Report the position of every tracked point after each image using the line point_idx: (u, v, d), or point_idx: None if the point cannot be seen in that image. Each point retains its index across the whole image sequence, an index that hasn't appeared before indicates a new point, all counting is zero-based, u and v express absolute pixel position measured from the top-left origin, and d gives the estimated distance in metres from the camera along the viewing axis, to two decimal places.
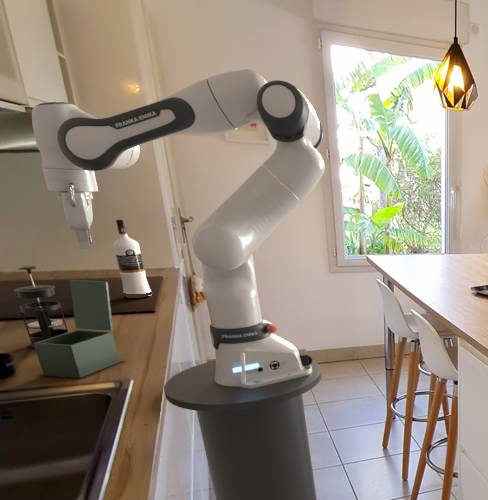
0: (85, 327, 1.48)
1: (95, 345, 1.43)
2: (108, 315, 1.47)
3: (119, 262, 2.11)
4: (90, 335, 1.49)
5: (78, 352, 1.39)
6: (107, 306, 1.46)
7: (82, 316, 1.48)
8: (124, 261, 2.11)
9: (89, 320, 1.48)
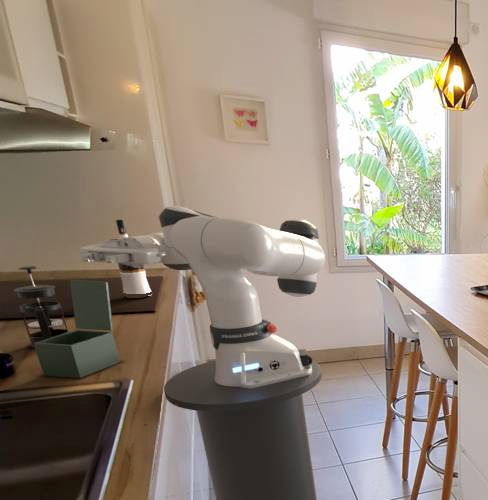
0: (85, 327, 1.48)
1: (95, 345, 1.43)
2: (108, 315, 1.47)
3: None
4: (90, 335, 1.49)
5: (78, 352, 1.39)
6: (107, 306, 1.46)
7: (82, 316, 1.48)
8: None
9: (89, 320, 1.48)
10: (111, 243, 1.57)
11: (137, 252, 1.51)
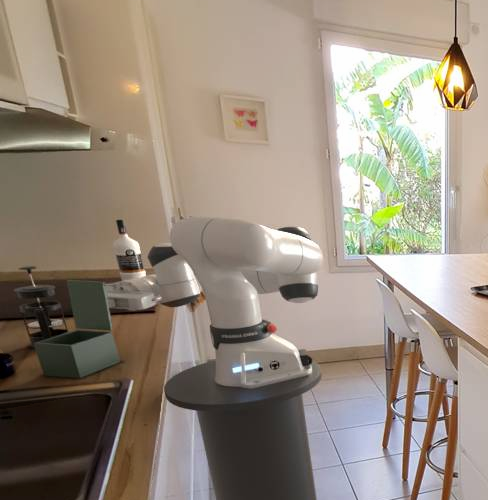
0: (85, 327, 1.48)
1: (95, 345, 1.43)
2: (107, 315, 1.47)
3: (119, 262, 2.11)
4: (90, 335, 1.49)
5: (78, 352, 1.39)
6: (105, 306, 1.46)
7: (81, 316, 1.48)
8: (124, 261, 2.11)
9: (88, 320, 1.48)
10: (106, 287, 1.57)
11: (132, 298, 1.50)
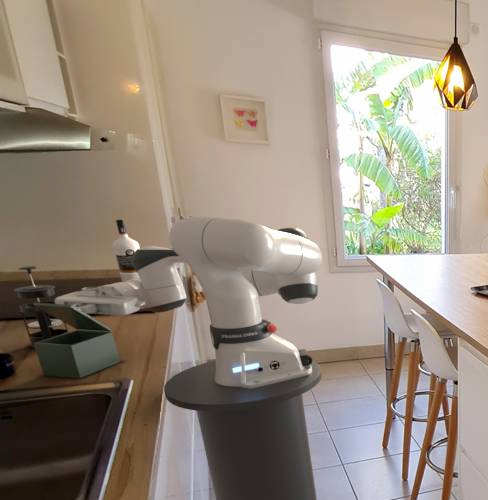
0: (85, 329, 1.48)
1: (95, 345, 1.43)
2: (98, 324, 1.44)
3: (119, 262, 2.11)
4: (90, 335, 1.49)
5: (78, 352, 1.39)
6: (91, 319, 1.42)
7: (74, 323, 1.46)
8: (124, 261, 2.11)
9: (83, 326, 1.46)
10: (88, 292, 1.51)
11: (114, 303, 1.45)
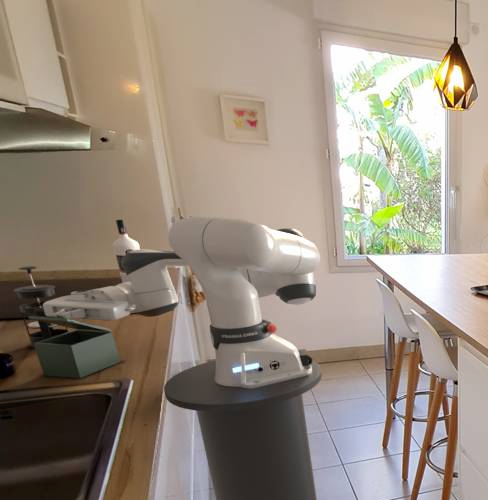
0: (85, 329, 1.48)
1: (95, 345, 1.43)
2: (97, 328, 1.44)
3: (119, 262, 2.11)
4: (90, 335, 1.49)
5: (78, 352, 1.39)
6: (89, 326, 1.42)
7: (73, 327, 1.45)
8: None
9: (83, 328, 1.46)
10: (77, 296, 1.48)
11: (103, 308, 1.42)
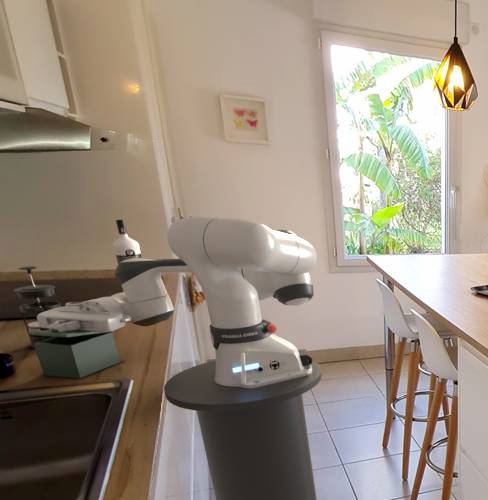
0: None
1: (95, 345, 1.43)
2: (97, 333, 1.44)
3: (119, 262, 2.11)
4: (90, 335, 1.49)
5: (78, 352, 1.39)
6: (89, 334, 1.42)
7: None
8: None
9: None
10: (72, 307, 1.47)
11: (98, 320, 1.41)
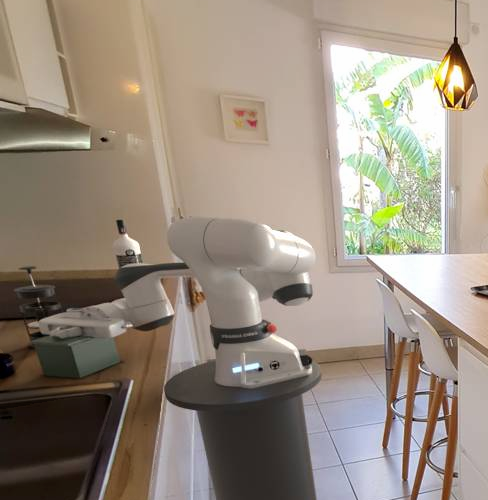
0: None
1: (95, 345, 1.43)
2: None
3: (119, 262, 2.11)
4: None
5: (78, 352, 1.39)
6: (90, 338, 1.42)
7: None
8: (124, 261, 2.11)
9: None
10: (73, 313, 1.48)
11: (99, 326, 1.41)
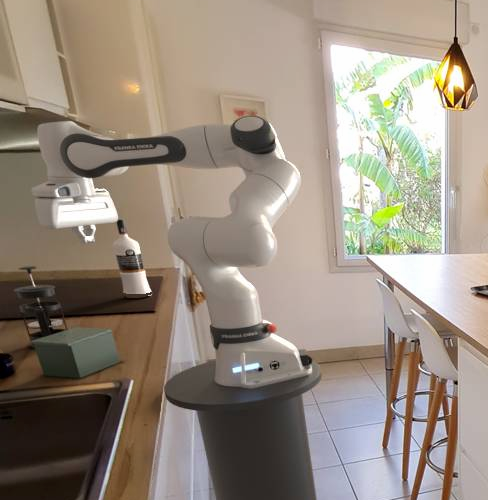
0: None
1: (95, 345, 1.43)
2: None
3: (119, 262, 2.11)
4: None
5: (78, 352, 1.39)
6: (90, 338, 1.42)
7: None
8: (124, 261, 2.11)
9: None
10: (67, 201, 1.39)
11: (113, 221, 1.53)
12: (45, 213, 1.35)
